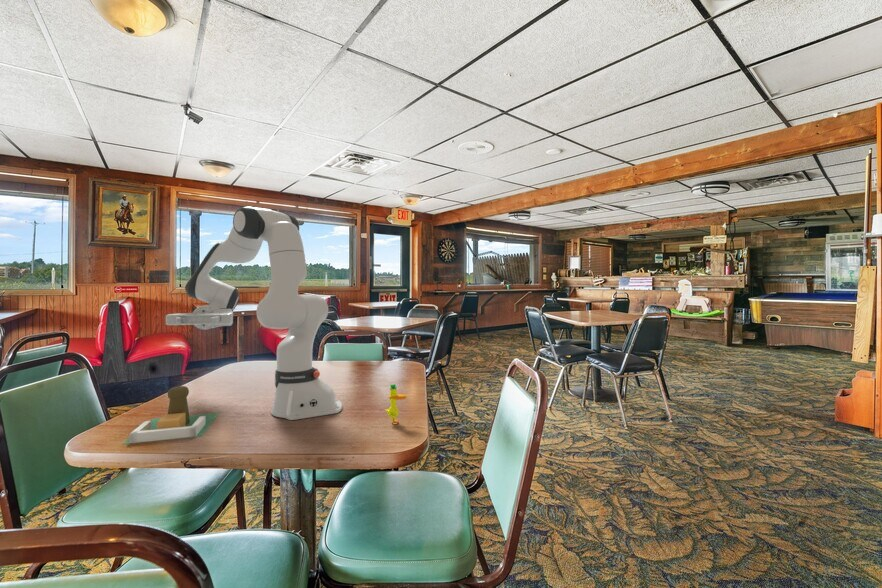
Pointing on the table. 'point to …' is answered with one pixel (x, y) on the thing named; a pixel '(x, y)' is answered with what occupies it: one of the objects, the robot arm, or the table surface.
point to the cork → (179, 401)
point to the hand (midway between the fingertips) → (194, 320)
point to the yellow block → (172, 421)
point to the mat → (193, 418)
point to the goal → (165, 432)
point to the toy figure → (394, 402)
